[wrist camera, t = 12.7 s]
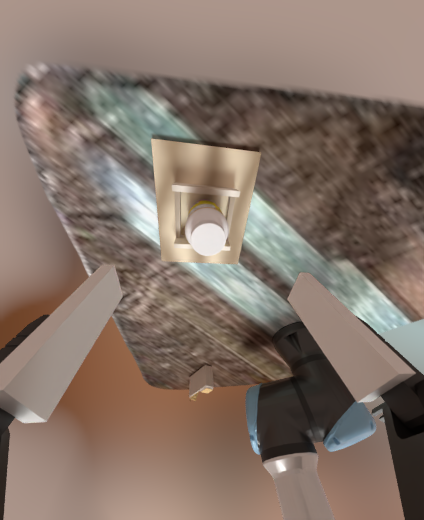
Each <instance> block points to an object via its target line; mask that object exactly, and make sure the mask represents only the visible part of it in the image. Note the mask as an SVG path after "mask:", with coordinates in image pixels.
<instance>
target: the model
mask: <svg viewBox="0 0 424 520" xmlns="http://www.w3.org/2000/svg"><path fill="white" fill-rule="evenodd" d="M213 387H214V386H213V371H212V367H211V366H208V365H204V366H203V367H202V368H201V369H199V370H198V371H197V372H196V373H194V374H193V375H192V376H191V377H190V388H189V397H190V399H192V400H195V401H196V398H197V395H198V392H199V391H200V390H201V392H203V393H209V392H210V391H212V390H213Z"/></svg>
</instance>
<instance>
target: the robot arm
mask: <svg viewBox="0 0 424 520" xmlns="http://www.w3.org/2000/svg"><path fill="white" fill-rule="evenodd" d="M122 297H123V295H122V291H121V287H120V284H119V280H118V276H117V273H116V269H115V265H101V266H100V267H99V268H98V269H97V270H96V271H95V272H94V273H93V274H92V275H91V276H90V277H89V278H88V279H87V280H86V281H85V282H84V283H83V284H82V285H81V286H80V287H79V288H78V289H77V290H76V291H75V292H74V293H72V295H70V296H69V297H68V298H67V299H66V300H65V301H64V302H63V303H62V304H61V305H60V306H59V307H58V308H57V309H56V310H55V311H54V312H53V313H52V314H51V315H43V316H41V317H40V318H38V319H36V320H35V321H33V322H32V323H30V324H29V325H27V326H26V327H25V328H24V329H23V330H22V331H21V332H20V333H18V334H17V335H16V338H13V339H12V340H11V341H10V342H9V343H7V344H6V346H5V348H2V349H1V350H0V520H3V515H4V503H5V490H6V477H7V464H8V451H9V438H10V433H9V429H8V426H9V425H10V424H11V422H12V421H13V420H14V418H16V419H18V420H19V421H21V422H23V423H33V422H47V420H48V418H49V417H50V415H51V414H52V412H53V410H54V408H55V407H56V405H57V404H58V402H59V400H60V399H61V397H62V395H63V394H64V392H65V391H66V389H67V387H68V386H69V384H70V382H71V381H72V379H73V377H74V376H75V374H76V372H77V371H78V369H79V367H80V366H81V364H82V362H83V361H84V359H85V358H86V356H87V354H88V353H89V351H90V349H91V348H92V346H93V344H94V343H95V341H96V339H97V338H98V336H99V334H100V333H101V331H102V330H103V328H104V326H105V325H106V323H107V321H108V320H109V318H110V317H111V315H112V313H113V312H114V310H115V308H116V307H117V305H118V303H119V302H120V300H121V298H122ZM287 300H288V301H289V302H290V304H291V305H292V307H293V308H294V310H295V311H296V313H297V314H298V316H299V317H300V319H301V320H302V322H298V323H294V324H291V325H288V326H286V327H284V328H282V329H281V330H279V331H278V332H277V333H276V334H275V336H274V337H273V344H274V347H275V349H276V351H277V352H278V353H279V354H280V356H281V357H282V358H283V360H284V361H285V362H286V363H287V365H288V366H289V367H290V369H291V371H292V374H293V377H289V378H284V379H280V380H276V381H272V382H268V383H260V384H259V385H256V386H253V387H250V388H249V389H248V390H247V393H246V415H247V424H248V431H249V433H250V441H251V444H252V448H253V450H254V451H255V453H257V454H261V457H262V462H263V466H264V467H265V468H266V469H267V471H268V472H269V473H270V474H271V475H272V477H273V479H274V482H275V486H276V490H277V495H278V499H279V503H280V507H281V511H282V515H283V519H284V520H335V518H334V516H333V513H332V511H331V508H330V505H329V503H328V500H327V498H326V495H325V493H324V490H323V487H322V485H321V482H320V480H319V477H318V474H317V463H318V454H317V452H316V449H315V447H314V444H313V443H316V442H322V441H323V444H324V446H325V447H326V448H327V450H328V451H330V452H333V451H336V450H340V449H343V448H345V447H348V446H350V445H353V444H355V443H357V442H359V441H361V440H363V439H365V438H367V437H369V436H370V435H372V434H373V433H374V432H375V430H376V423H375V421H374V418H373V417H372V415H373V416H376V415H378V414H380V413H382V412H383V415H382V416H381V417H380V418H379V419H380V420H381V421H382V422H384V423H385V425H386V430H387V435H388V440H389V444H390V449H391V454H392V459H393V464H394V469H395V473H396V478H397V483H398V488H399V492H400V498H401V503H402V507H403V512H404V517H405V520H424V375H423V374H422V373H421V372H419V371H418V370H417V369H416V368H415V367H414V366H413V365H412V364H411V363H410V362H409V361H407V360H406V359H405V358H404V357H403V356H402V355H401V354H400V353H399V352H398V351H397V350H395V349H394V348H393V347H392V346H391V345H390V344H389V343H388V342H385V339H383V338H382V337H381V336H380V335H379V334H377V332H376V331H375V330H374V329H373V328H371V327H370V326H369V325H368V324H367V323H366V322H364V321H363V320H361V319H360V318H358V317H357V316H355V315H354V314H353V313H352V312H350V311H349V310H348V309H347V308H346V307H345V306H344V305H343V304H342V303H341V302H340V301H339V300H338V299H337V298H336V297H334V296H333V295H332V294H331V293H330V292H329V291H328V290H327V289H326V288H325V287H324V286H323V285H322V284H321V283H320V282H319V281H317V280H316V279H315V278H314V277H313V276H312V275H311V274H310V273H301V272H300V273H299V275H298V277H297V280H296V282H295V284H294V286H293V288H292V290H291V292H290V295H289V297H288V299H287ZM380 396H381V397H382V398H383V400H384V401H385V402H384V403H382V404H381V405H379V406H377V407H376V408H374V409H373V410H372V415H371V414H370V412H369V411H368V409H367V408H366V406H365V405H364V403H363V402H372V401H373V400H375V399H377V398H378V397H380Z"/></svg>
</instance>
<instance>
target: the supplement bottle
mask: <svg viewBox="0 0 424 520" xmlns="http://www.w3.org/2000/svg"><path fill="white" fill-rule="evenodd" d="M228 234H229V226H228V222H227V220H226V218H225V217H224V215H223V213H222V212H221V210H220V208H219V207H218V206H217V204H216V203H214V202H213V201H210V200H199V201H197V202H195V203H194V204H193V205H192V206H191V208H190V210H189V213H188V217H187V221H186V225H185V235H186V238H187V240H188V242H189V243H190V244H191V245H192V247H193V249H194V250H195V251H196V252H197V253H199V254H201V255H204V256H212V255H215V254H217V253H219V252H220V251H221V250H222V249H223V248H224V246H225V243H226V239H227V237H228Z"/></svg>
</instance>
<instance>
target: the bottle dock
mask: <svg viewBox="0 0 424 520" xmlns="http://www.w3.org/2000/svg"><path fill="white" fill-rule="evenodd" d="M151 142H152V154H153V165H154V177H155V188H156V200H157V212H158V223H159V235H160V246H161V258H162V261H171V262H196V263H220V264H238V260H239V255H240V250H241V246H242V241H243V236H244V231H245V227H246V222H247V217H248V213H249V208H250V203H251V199H252V194H253V189H254V184H255V180H256V175H257V170H258V166H259V161H260V156H261V152H254V151H246V150H238V149H230V148H222V147H214V146H206V145H198V144H191V143H183V142H175V141H167V140H159V139H151ZM199 200H210V201H213V202H214V203H216V204H217V206H218V207H219V208H220V210H221V212H222V213H223V215H224V217H225V218H226V220H227V222H228V226H229V234H228V237H227V239H226V243H225V246H224V248H223V249H222V250H221V251H220V252H219V253H217V254H215V255H212V256H204V255H201V254H199V253H197V252H196V251H195V250H194V249H193V247H192V245H191V244H190V243H189V242H188V240H187V238H186V235H185V225H186V221H187V217H188V213H189V210H190V208H191V206H192V205H193V204H194V203H195V202H197V201H199Z"/></svg>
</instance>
